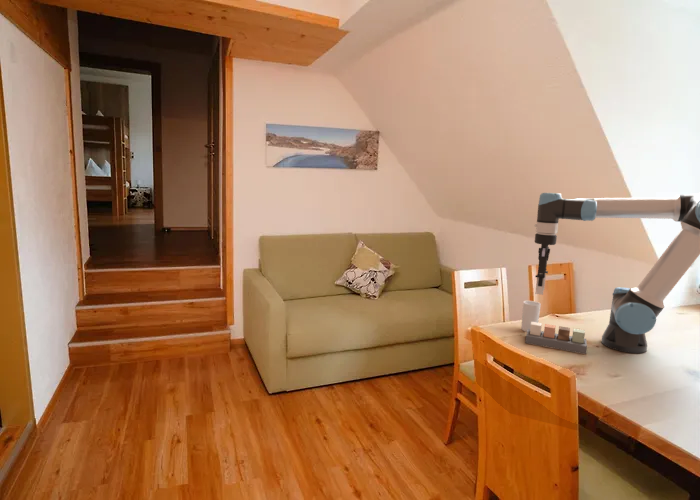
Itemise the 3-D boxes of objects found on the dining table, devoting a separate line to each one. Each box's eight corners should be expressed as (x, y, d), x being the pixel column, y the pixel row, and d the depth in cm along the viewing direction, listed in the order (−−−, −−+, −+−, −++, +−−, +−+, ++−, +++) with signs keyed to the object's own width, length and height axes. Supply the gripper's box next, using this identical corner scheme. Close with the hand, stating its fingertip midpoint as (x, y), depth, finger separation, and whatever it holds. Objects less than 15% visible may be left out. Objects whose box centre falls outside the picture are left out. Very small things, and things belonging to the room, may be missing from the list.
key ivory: (540, 332, 173) (541, 323, 172) (540, 335, 169) (541, 326, 169) (530, 331, 174) (531, 321, 174) (529, 334, 171) (530, 324, 170)
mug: (534, 334, 180) (537, 306, 178) (518, 330, 184) (520, 302, 182) (542, 328, 187) (545, 301, 185) (526, 324, 192) (529, 298, 190)
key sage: (583, 340, 166) (584, 330, 165) (583, 343, 163) (584, 333, 162) (572, 338, 168) (573, 328, 167) (572, 341, 164) (573, 331, 164)
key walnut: (568, 337, 168) (569, 327, 168) (568, 340, 165) (569, 330, 164) (557, 335, 170) (559, 326, 169) (557, 338, 167) (558, 328, 166)
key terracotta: (554, 335, 170) (555, 325, 170) (554, 338, 167) (555, 328, 166) (544, 333, 172) (545, 323, 171) (543, 336, 169) (544, 326, 168)
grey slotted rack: (585, 346, 168) (586, 338, 168) (586, 354, 160) (587, 346, 160) (527, 335, 178) (528, 328, 177) (525, 342, 170) (526, 335, 169)
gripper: (537, 230, 176) (531, 284, 180) (533, 235, 158) (527, 296, 161) (557, 231, 172) (551, 287, 176) (556, 237, 154) (549, 299, 158)
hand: (539, 291), depth 169 cm, fingers open, 8 cm apart
